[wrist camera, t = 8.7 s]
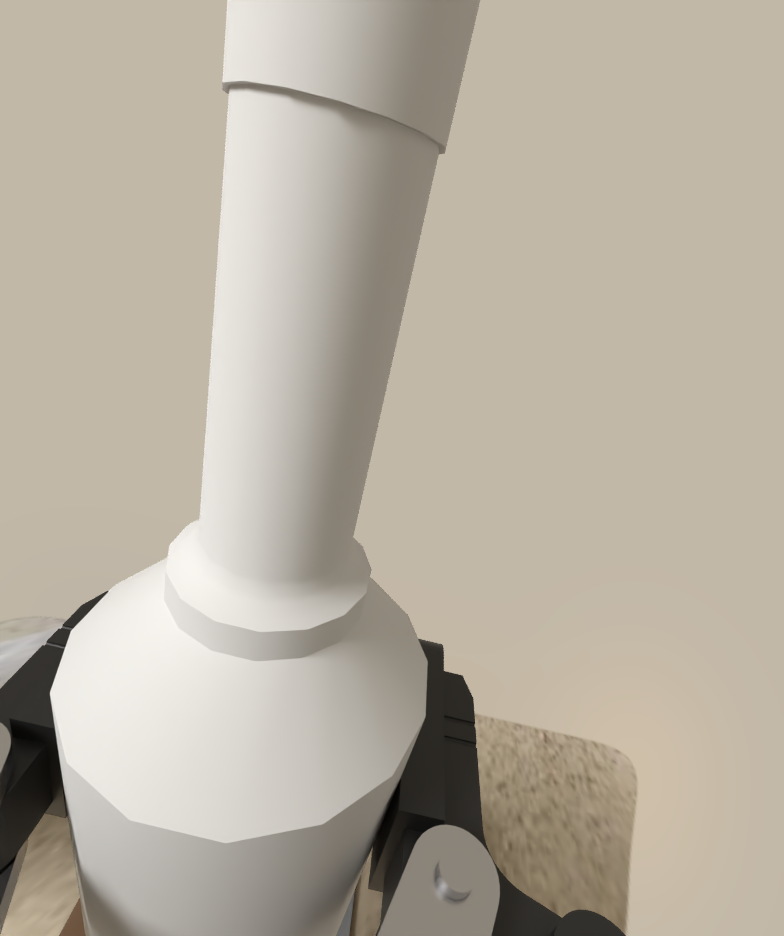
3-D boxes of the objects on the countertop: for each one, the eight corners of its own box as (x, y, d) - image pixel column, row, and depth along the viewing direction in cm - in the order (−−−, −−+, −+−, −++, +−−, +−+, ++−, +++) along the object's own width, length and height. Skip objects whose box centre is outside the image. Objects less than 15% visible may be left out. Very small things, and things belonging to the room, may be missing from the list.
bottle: (182, 911, 17) (257, -34, 6) (318, 985, 16) (663, 33, 6) (47, 1148, 13) (-464, -769, 2) (226, 1269, 12) (1200, -1068, 1)
